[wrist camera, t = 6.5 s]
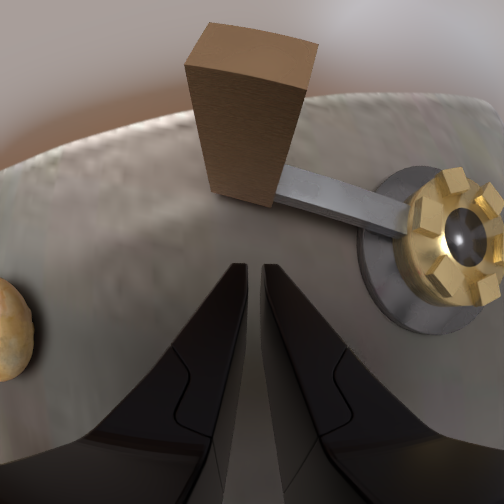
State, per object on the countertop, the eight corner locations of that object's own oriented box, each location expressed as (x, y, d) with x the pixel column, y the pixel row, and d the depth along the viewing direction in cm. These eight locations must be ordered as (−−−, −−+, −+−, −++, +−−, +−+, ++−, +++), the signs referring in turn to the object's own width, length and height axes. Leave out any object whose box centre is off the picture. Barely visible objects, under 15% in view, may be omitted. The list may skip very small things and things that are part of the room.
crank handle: (485, 210, 22) (588, 157, 10) (476, 317, 20) (600, 309, 8) (236, 121, 22) (236, -18, 10) (195, 239, 20) (142, 147, 8)
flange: (503, 278, 22) (514, 276, 21) (406, 367, 21) (417, 370, 19) (437, 152, 24) (446, 145, 23) (324, 214, 23) (330, 208, 21)
